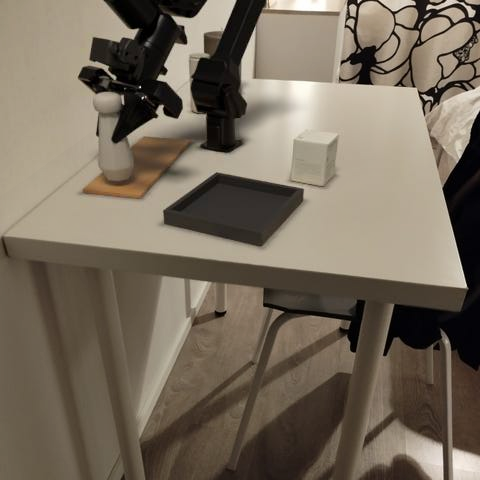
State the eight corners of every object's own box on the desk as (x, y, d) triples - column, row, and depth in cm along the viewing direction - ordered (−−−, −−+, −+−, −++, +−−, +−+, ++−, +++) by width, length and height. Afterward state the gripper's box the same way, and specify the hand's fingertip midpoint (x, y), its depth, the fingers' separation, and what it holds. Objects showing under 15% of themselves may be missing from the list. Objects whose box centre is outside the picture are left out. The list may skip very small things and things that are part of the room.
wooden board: (144, 139, 107) (143, 136, 106) (190, 142, 105) (190, 139, 105) (82, 192, 85) (82, 189, 84) (140, 198, 83) (140, 195, 83)
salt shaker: (93, 178, 85) (78, 95, 77) (115, 167, 89) (103, 86, 81) (120, 185, 83) (108, 100, 75) (143, 173, 87) (133, 91, 79)
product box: (323, 187, 87) (328, 143, 83) (289, 181, 89) (292, 138, 85) (334, 175, 91) (339, 133, 87) (302, 169, 94) (305, 128, 89)
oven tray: (216, 184, 88) (216, 172, 87) (303, 201, 83) (304, 188, 81) (164, 223, 76) (162, 210, 75) (261, 246, 71) (261, 232, 69)
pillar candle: (197, 93, 136) (194, 28, 127) (220, 86, 142) (219, 23, 133) (227, 99, 131) (226, 32, 122) (249, 91, 138) (250, 27, 129)
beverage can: (209, 114, 121) (207, 57, 113) (189, 113, 121) (186, 56, 114) (213, 108, 124) (212, 53, 117) (193, 107, 125) (191, 52, 118)
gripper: (76, 7, 79) (30, 99, 79) (162, 18, 70) (111, 122, 70) (122, 56, 89) (82, 137, 89) (204, 71, 79) (159, 162, 79)
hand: (106, 139), depth 81 cm, fingers closed on salt shaker, 3 cm apart
